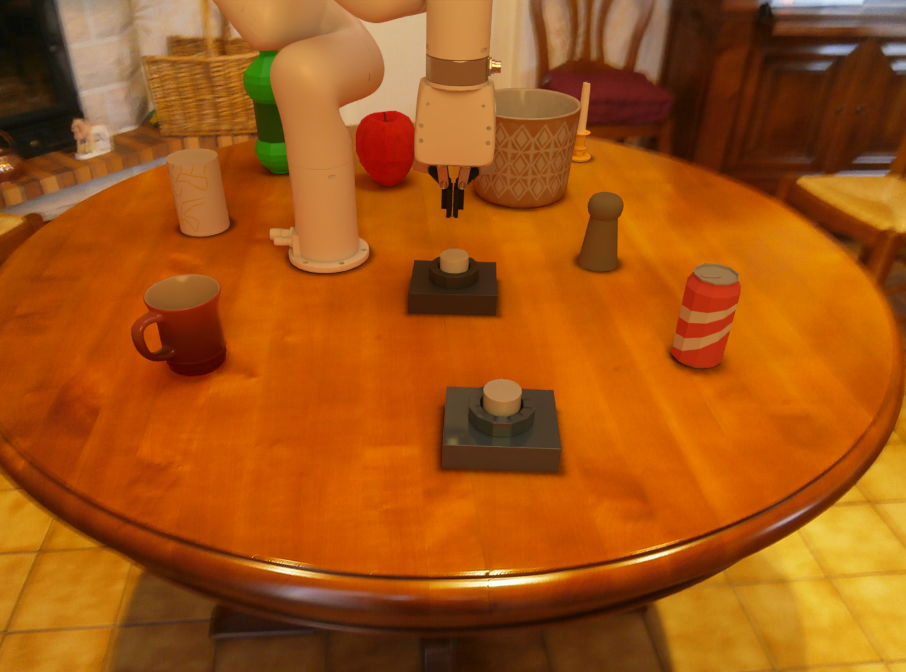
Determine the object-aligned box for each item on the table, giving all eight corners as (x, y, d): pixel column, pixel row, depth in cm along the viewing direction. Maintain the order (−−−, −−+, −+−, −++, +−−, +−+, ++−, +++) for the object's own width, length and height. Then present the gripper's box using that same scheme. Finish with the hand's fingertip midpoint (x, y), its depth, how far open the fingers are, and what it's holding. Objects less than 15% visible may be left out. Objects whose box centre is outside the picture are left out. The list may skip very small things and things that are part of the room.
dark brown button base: (409, 313, 102) (408, 281, 99) (414, 279, 110) (414, 248, 107) (495, 316, 101) (497, 283, 98) (495, 281, 109) (496, 250, 107)
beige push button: (482, 416, 76) (483, 400, 75) (482, 393, 79) (483, 378, 78) (521, 417, 76) (522, 402, 75) (519, 394, 79) (521, 379, 78)
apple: (384, 167, 149) (381, 98, 141) (431, 179, 143) (431, 109, 135) (345, 184, 141) (340, 113, 133) (393, 198, 135) (390, 125, 128)
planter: (587, 187, 140) (599, 97, 131) (543, 222, 127) (552, 125, 117) (498, 167, 149) (503, 82, 139) (448, 198, 135) (449, 106, 126)
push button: (439, 274, 101) (439, 261, 100) (440, 261, 105) (440, 248, 103) (468, 275, 101) (468, 261, 100) (468, 261, 105) (469, 248, 103)
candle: (576, 152, 156) (585, 75, 147) (595, 158, 153) (606, 80, 144) (560, 157, 154) (568, 79, 145) (579, 164, 150) (588, 84, 141)
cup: (170, 231, 123) (154, 161, 116) (200, 213, 130) (187, 145, 123) (210, 239, 121) (197, 168, 114) (239, 220, 127) (228, 151, 120)
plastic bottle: (258, 161, 151) (239, 29, 137) (309, 159, 152) (296, 28, 138) (253, 179, 143) (233, 40, 129) (308, 176, 144) (294, 39, 130)
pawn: (617, 273, 112) (628, 204, 105) (576, 269, 113) (585, 201, 106) (617, 255, 116) (627, 189, 110) (578, 252, 117) (587, 185, 111)
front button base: (442, 468, 76) (442, 431, 73) (446, 408, 85) (446, 373, 82) (558, 472, 76) (563, 435, 73) (551, 412, 84) (555, 376, 81)
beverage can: (664, 344, 96) (682, 261, 89) (714, 345, 95) (736, 261, 88) (675, 371, 91) (695, 285, 84) (727, 372, 90) (752, 286, 83)
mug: (200, 337, 97) (184, 267, 91) (249, 357, 93) (236, 285, 87) (125, 383, 88) (102, 309, 82) (175, 406, 85) (156, 331, 79)
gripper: (518, 64, 91) (507, 204, 101) (397, 60, 91) (399, 200, 102) (521, 80, 85) (508, 228, 95) (391, 76, 85) (393, 223, 96)
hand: (452, 213), depth 99 cm, fingers closed
